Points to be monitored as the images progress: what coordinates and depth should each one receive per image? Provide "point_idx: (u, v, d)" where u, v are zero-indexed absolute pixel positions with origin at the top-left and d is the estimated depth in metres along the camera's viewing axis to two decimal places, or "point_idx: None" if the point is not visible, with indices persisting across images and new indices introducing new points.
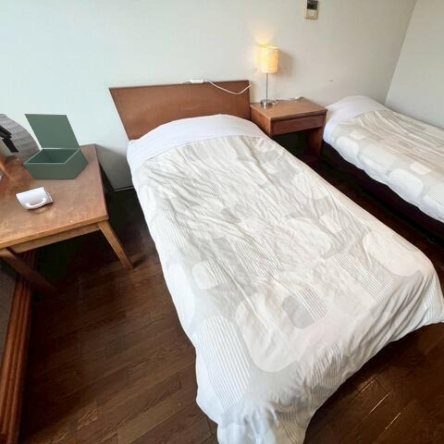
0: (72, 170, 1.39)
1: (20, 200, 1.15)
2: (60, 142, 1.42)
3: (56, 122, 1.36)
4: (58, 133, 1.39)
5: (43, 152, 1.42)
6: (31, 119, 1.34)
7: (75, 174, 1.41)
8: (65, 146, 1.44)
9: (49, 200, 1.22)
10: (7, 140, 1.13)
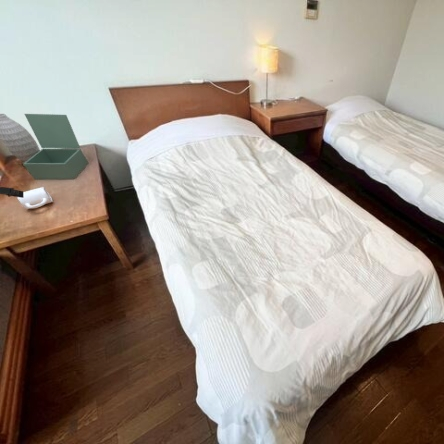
0: (72, 170, 1.39)
1: (20, 200, 1.15)
2: (60, 142, 1.42)
3: (56, 122, 1.36)
4: (58, 133, 1.39)
5: (43, 152, 1.42)
6: (31, 119, 1.34)
7: (75, 174, 1.41)
8: (65, 146, 1.44)
9: (49, 200, 1.22)
10: None
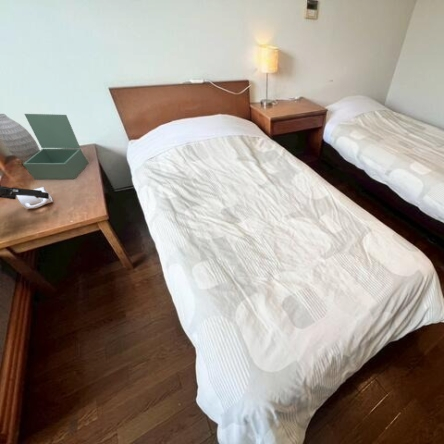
0: (72, 170, 1.39)
1: (20, 200, 1.15)
2: (60, 142, 1.42)
3: (56, 122, 1.36)
4: (58, 133, 1.39)
5: (43, 152, 1.42)
6: (31, 119, 1.34)
7: (75, 174, 1.41)
8: (65, 146, 1.44)
9: (49, 200, 1.22)
10: None
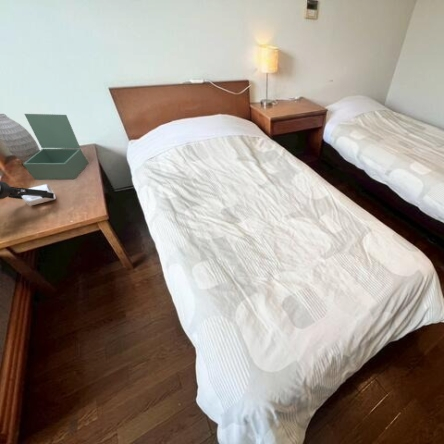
0: (72, 170, 1.39)
1: None
2: (60, 142, 1.42)
3: (56, 122, 1.36)
4: (58, 133, 1.39)
5: (43, 152, 1.42)
6: (31, 119, 1.34)
7: (75, 174, 1.41)
8: (65, 146, 1.44)
9: None
10: None
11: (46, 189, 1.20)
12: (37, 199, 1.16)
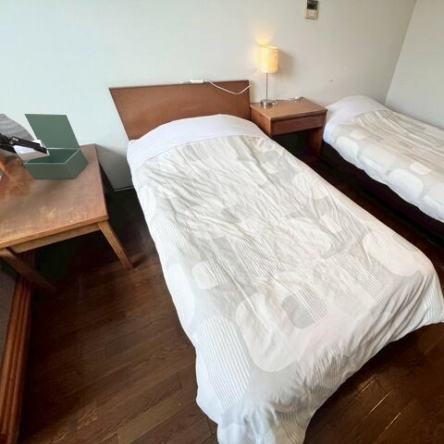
0: (72, 170, 1.39)
1: (15, 147, 1.16)
2: (60, 142, 1.42)
3: (56, 122, 1.36)
4: (58, 133, 1.39)
5: None
6: (31, 119, 1.34)
7: (75, 174, 1.41)
8: (65, 146, 1.44)
9: None
10: None
11: None
12: (30, 152, 1.16)
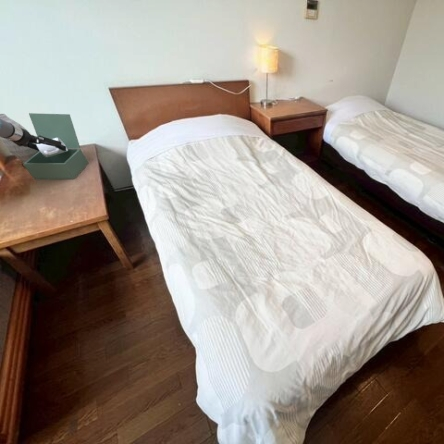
0: (72, 170, 1.39)
1: (39, 148, 1.33)
2: None
3: (59, 121, 1.38)
4: (60, 132, 1.41)
5: None
6: (35, 118, 1.36)
7: (75, 174, 1.41)
8: None
9: None
10: None
11: None
12: (52, 152, 1.33)
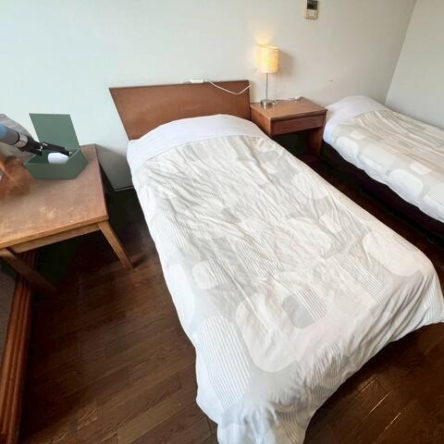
0: (72, 170, 1.39)
1: (49, 161, 1.39)
2: (60, 142, 1.43)
3: (59, 121, 1.38)
4: (60, 132, 1.41)
5: (43, 152, 1.42)
6: (35, 118, 1.36)
7: (75, 174, 1.41)
8: (65, 146, 1.44)
9: None
10: None
11: None
12: None
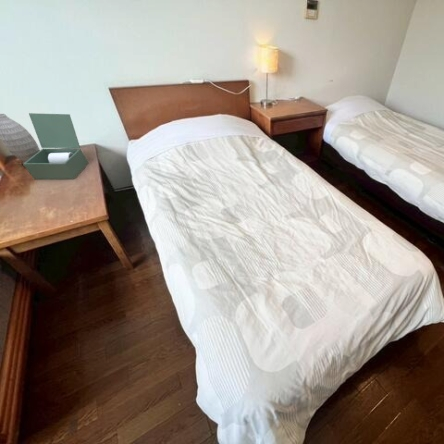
0: (72, 170, 1.39)
1: (49, 161, 1.39)
2: (60, 142, 1.43)
3: (59, 121, 1.38)
4: (60, 132, 1.41)
5: (43, 152, 1.42)
6: (35, 118, 1.36)
7: (75, 174, 1.41)
8: (65, 146, 1.44)
9: None
10: None
11: None
12: None
